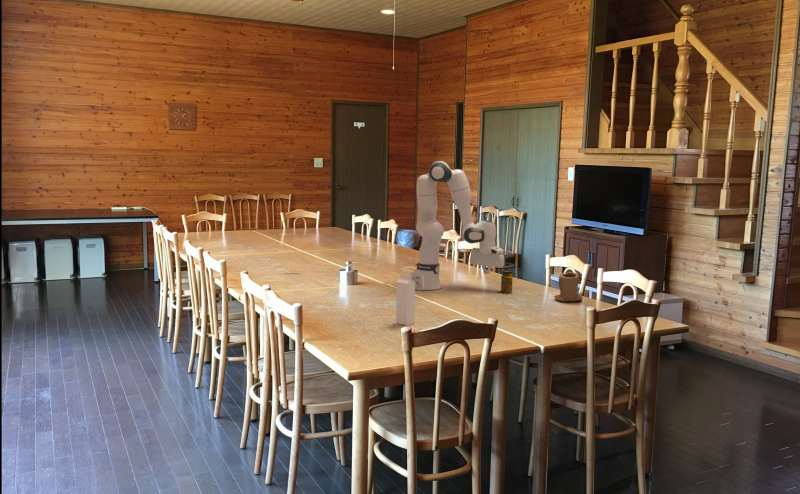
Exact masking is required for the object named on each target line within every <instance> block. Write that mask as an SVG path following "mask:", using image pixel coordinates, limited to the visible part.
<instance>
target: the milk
mask: <svg viewBox="0 0 800 494" xmlns="http://www.w3.org/2000/svg"><path fill="white" fill-rule="evenodd" d="M415 294H416V289H415V281H413V280H412V279H411V276H410V275H409V274H403V273H401V274H400V278H398V280H397V281H396V295H395V296H396V298H395V300H396V306H395V310H396V313H395V323H396V324H397V323H399V325H402V324H404V325H403V326H409V325H412V324H415V306H416V305H415V303H416V295H415Z"/></svg>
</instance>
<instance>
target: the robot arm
mask: <svg viewBox="0 0 800 494" xmlns="http://www.w3.org/2000/svg"><path fill="white" fill-rule="evenodd" d="M438 183H447V185H448V188H449V192H450V193H449V194H450V195H451V199H452V201H453V203H454V204H455V205H454V206H456V208H457V211H458V213H459V217H460V221H461V230H460V234H461V238H462V239H463V240H464V241H465V242H466V243H468V244H477V243H478V244H479V247H473V248H471V249H470V258H469V263H470V264H471V265H477V266H481V269H482V270H483V274H484V275H489V274H490V271H491V270H492V267H493V268H503V267H504V266H505V255H504V249H503V248H501V247H498V246H497V245H496V236H497V234H496V233H497V230H496V224H495V222H493V221H491V220H487V219H482V220H480V221H479V222H477V223H474V221H473V216H472V213H471V206H470V205H471V201H472V190H471V187H470V183H469V180H468V177H467V175H466V173H465V171H464V170H462V169H458V168H457V169H451V167H450V164H448V162H446V161H445V160H437V161H434V162H433V163H432V164H431V165H430V166H429V168H428V173H426V174H422V175H419V177H417V180H416V200H417V201H416V202H417V217H416V219H417V220H416V226H415V228H416V232H417V233H418V234H419V236H421V237H422V238H421V243H420V247H419V255H418V256H419V259H418V263H417V262H416V263H415V267H416V269H414V270H413V271H412V272H410V273H409V274H408V275H410V276H411V279H412V280H413V281H415V290H418V291H431V290H434V291H436V290H440V289H441V288H442V286H441V281H440V260H439V259H440V246H441V242H442V239H443V236H444V233H445V230H444V226H443V225H442V224H441V222H440V221H438V220H437V211H438V208H439V205H438V196H437V195H438V194H437V184H438ZM486 267H487V269H486Z"/></svg>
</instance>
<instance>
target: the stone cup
mask: <svg viewBox="0 0 800 494" xmlns="http://www.w3.org/2000/svg"><path fill="white" fill-rule="evenodd" d="M579 284H580V277H579V274H578V273H576V272H572V271H567V272H564V273H560V274H559V276H558V288H559V291H560V292H559V294H556V295H554V299H555V300H556V301H559V302H575V301H576V302H578V301H583V300H584V298H583V295H582V293H580V292H579V293H578V292H577V291H578V288H579V287H578V286H579Z"/></svg>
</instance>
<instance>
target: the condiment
mask: <svg viewBox="0 0 800 494" xmlns="http://www.w3.org/2000/svg"><path fill="white" fill-rule="evenodd" d="M513 279H514V278H513V272H512V271H511V270H502V275H501V280H500V281H501V282H500V290H499V291H496V294H500V295H510V294H515V291H513ZM503 293H504V294H503Z"/></svg>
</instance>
